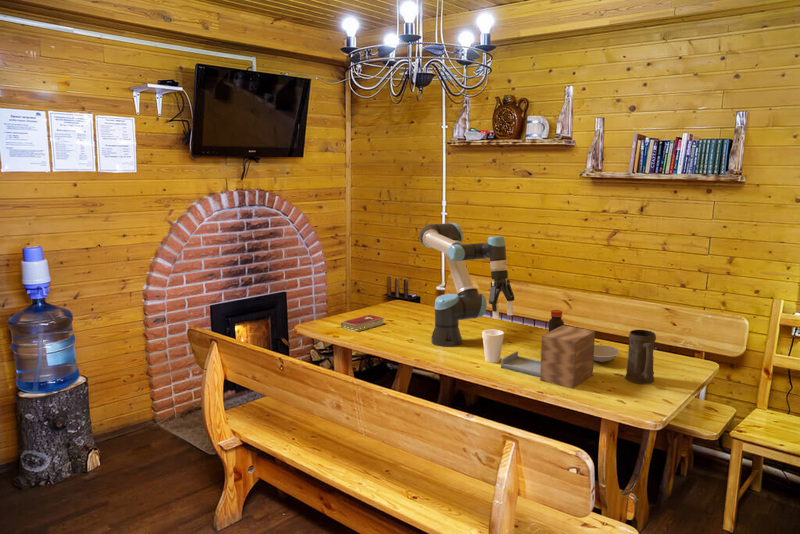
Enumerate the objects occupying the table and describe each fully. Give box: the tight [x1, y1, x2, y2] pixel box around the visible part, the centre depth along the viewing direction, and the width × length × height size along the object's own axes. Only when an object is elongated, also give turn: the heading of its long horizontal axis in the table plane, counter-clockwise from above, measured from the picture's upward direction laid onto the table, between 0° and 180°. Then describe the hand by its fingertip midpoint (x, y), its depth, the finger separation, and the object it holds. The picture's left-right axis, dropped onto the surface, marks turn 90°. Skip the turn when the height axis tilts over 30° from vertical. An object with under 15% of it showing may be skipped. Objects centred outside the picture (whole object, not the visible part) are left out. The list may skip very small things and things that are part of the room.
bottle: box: [547, 309, 565, 333], centre depth 266 cm, size 7×7×20 cm
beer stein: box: [625, 329, 657, 385], centre depth 230 cm, size 15×11×20 cm
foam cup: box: [481, 328, 505, 364], centre depth 257 cm, size 10×9×13 cm
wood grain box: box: [539, 324, 596, 390], centre depth 235 cm, size 14×19×19 cm
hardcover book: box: [340, 314, 385, 333], centre depth 316 cm, size 12×21×4 cm, turn 136°
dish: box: [594, 344, 620, 363], centre depth 255 cm, size 18×14×5 cm
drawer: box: [500, 351, 541, 378], centre depth 247 cm, size 20×13×4 cm, turn 49°
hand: (503, 317), depth 262 cm, fingers open, 13 cm apart
